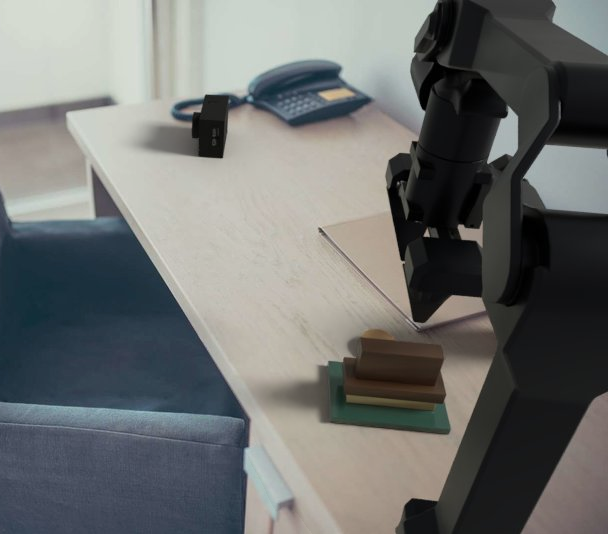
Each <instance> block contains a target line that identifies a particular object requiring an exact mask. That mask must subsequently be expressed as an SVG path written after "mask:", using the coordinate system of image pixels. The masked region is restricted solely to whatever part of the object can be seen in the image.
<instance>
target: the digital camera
mask: <svg viewBox="0 0 608 534" xmlns="http://www.w3.org/2000/svg"><path fill="white" fill-rule="evenodd" d="M202 101H203V102H202V105H201V108H200V112H199V111H193V113H192V120H191V138H192V139H195V140H196V139H197V140H198V147H197V148H198V149H197V151H198V153H197V154H198V155H197V156H198V157H200V158H201V157H202V158H203V157H204V158H216V159H223V158H224V154H225V148H226V142H227V135H228V127H229V126H228V125H229V108H230V107H229V105H230V96H229V95H221V94H207V93H206V94H204V97H203V100H202Z"/></svg>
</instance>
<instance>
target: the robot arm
mask: <svg viewBox="0 0 608 534" xmlns="http://www.w3.org/2000/svg"><path fill="white" fill-rule="evenodd" d="M556 9H557V6H556V4H555V2H554V1H553V0H437V1H436V3H435V5H434V7H433V10H432V11H430V13H429V14H428V15H427V16H426V18H425V20H424V21H423V23H422V25H421V26H420V28H419V30H418V32H417V34H416V35H415V37H414V40H413V41H414V42H413V44H414V45H413V53H414V56H413V57H412V59H411V62H410V69H409V73H410V79H411V81H412V85H413V88H414V91H415V94H416V97H417V100H418V103H419V106H420V108H421V110H422V111H423V112H424V117H423V120H422V124H421V128H420V132H419V136H418V139H417V140H411V143H410V147H409V153H408V152H399V153H397V154H396V155H394V156H393V157H390V158H389V159H388V161H387V165H386V170H385V175H384V177H385V182H386V188H385V189H386V194H387V200H388V204H389V208H390V214H391V219H392V224H393V229H394V233H395V239H396V243H397V249H398V250H397V251H398V254H399V259H400V261H401V262H403V263H402V271H403V276H404V281H405V286H406V292H407V297H408V301H409V302H408V303H409V307H410V312H411V318H412V322H413V323H418V324H425V323H427V322H428V320H429V319H430V318H431V317H432V316H434V314H435V313H436V312H437V311H438V310H439V308H441V307H442V306H443V304H444V303H445V302H446V301H447V300H448V299H449V298H452V296H457V297H467V298H468V297H469V298H479V299H481V301H482V303H483V306H484V308H485V311H486V314H487V317H488V319H489V323H490V324H491V327H492V330H493V333H494V335H495V338H496V341H497V346H496V350H495V352H494V356H493V358H492V361H491V363H490V366H489V368H488V371H487V374H486V376H485V379H484V382H483V384H482V386H481V389H480V392H479V394H478V397H477V398H476V399H477V400H476V402H475V405H474V406H473V410H472V412H471V415H470V417H469V421H468V423H467V425H466V427H465V430H464V433H463V436H462V438H461V441H460V444H459V446H458V449H457V451H456V453H455V456H454V458H453V461H452V464H451V466H450V469H449V472H448V474H447V476H446V479H445V482H444V485H443V487H442V489H441V491H440V495H439V497H438V500H432V499H425V498H415V497H412V498H410V499H409V500H408V501H407V502H406V503H404V505H403V508H402V513H401V517H400V521H399V523H398V524H397V526H396V527H395V529H394V531H395V534H523V532H524V530H525V528H526V526H527V524H528V522H529V521H530V519H531V517H532V515H533V513H534V511H535V510H536V507H537V506H538V504H539V501H540V500H541V498H542V496H543V494H544V492H545V490H546V489H547V487H548V485H549V483H550V481H551V479H552V478H553V476H554V474H555V473H556V470H557V468H558V466H559V464H560V462H561V461H562V459H563V458H564V455H565V453H566V452H567V449H568V447H569V446H570V444H571V443H572V440H573V438H574V436H575V435H576V433H577V431H578V429H579V427H580V425H581V423H582V421H583V419H584V418H585V416H586V414H587V412H588V411H589V409H590V407H591V405H592V403H593V401H594V400H595V399H597V398H598V397H600V396H602V395H604V394H607V393H608V213H600V212H592V211H591V212H590V211H578V210H566V209H565V210H564V209H553V208H547V207H546V205H545V203H544V202H543V199H542V197H541V196H540V194H539V192H538V190H537V189H536V188H535V187H534V186H533V185H532V184H531V183H530V181H529V180H528V179H527V178H525V176H526V174H528V172H529V170H530V169H531V167H532V166H533V164H534V162H535V161H536V160H537V158H538V156H539V155H540V153H541V152H542V151H543V149H544V148H545V146H555V147H569V148H580V149H581V148H582V149H593V150H606V158H608V54H607V53H604V52H603V51H601V50H600V49H598V48H597V47H595V46H593V45H592V44H589V43H588V42H586V41H585V40H583V39H581V38H579V37H578V36H576V35H574V34H572V33H571V32H569V31H568V30H566V29H564V28H562V27H561V26H560V25H558V24H556V23H555V22H553V21H554V16H555V13H556ZM509 108H510V109H511V111H512V112H513V113H514V114H515V115H516V116H517V149H516V151H515V153H514V154H513V156H512V155H511V154H508V153H504V154H502V155H501V156H499V157H497V158H495V159H494V160H492V161H490V162H489V163H488V161H489V158H490V154H491V152H492V148H493V145H494V143H495V140H496V136H497V133H498V130H499V128H500V125H501V121H502V120H505V119H507V117H508V116H509ZM481 225H482V237H481V238H482V239H481V240H482V243H481V245H482V246H481V245H480V244H479V242H478V241H477V240H472V239H463V238H462V236H461V234H460V233H461V232H460V230H459V226H463V227H464V228H465V229H472V230H473V229H474V230H480V229H481ZM426 232H428V235H429V236H425V234H426Z"/></svg>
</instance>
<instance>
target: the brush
mask: <svg viewBox="0 0 608 534" xmlns="http://www.w3.org/2000/svg"><path fill="white" fill-rule="evenodd" d="M355 354H356V355H355V357H351V356H344V357H343V359H342V362H343V363H342V375H343V388H344V394H345V395H346V402H349V403H359V404H369V405H379V406H390V407H400V408H410V409H420V410H430V411H434V409H435V406H436V404H443V403H444V401H445V400H446V397H447V391H446V386H445V383H444V382H445V381H444V379H443V374H442V368H443V365H444V361H445V354H444V350H443V347H442V344H438V343H430V342H418V341H409V340H408V341H407V340H397V339H395V340H387V339H376V338H365V337H362V336H361V337H359V343H358V346H357V351H356V353H355Z"/></svg>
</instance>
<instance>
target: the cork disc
mask: <svg viewBox="0 0 608 534" xmlns="http://www.w3.org/2000/svg"><path fill="white" fill-rule="evenodd" d="M361 337H365V338H376V339H387V340H396V338H395V336H393V335H392V334H391V333H390V332H388V331H387V330H383V329H381V328H380V329H379V328H371V329H370V328H369V329H367V330H365V331H364V332H363V333H362V334H361Z"/></svg>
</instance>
